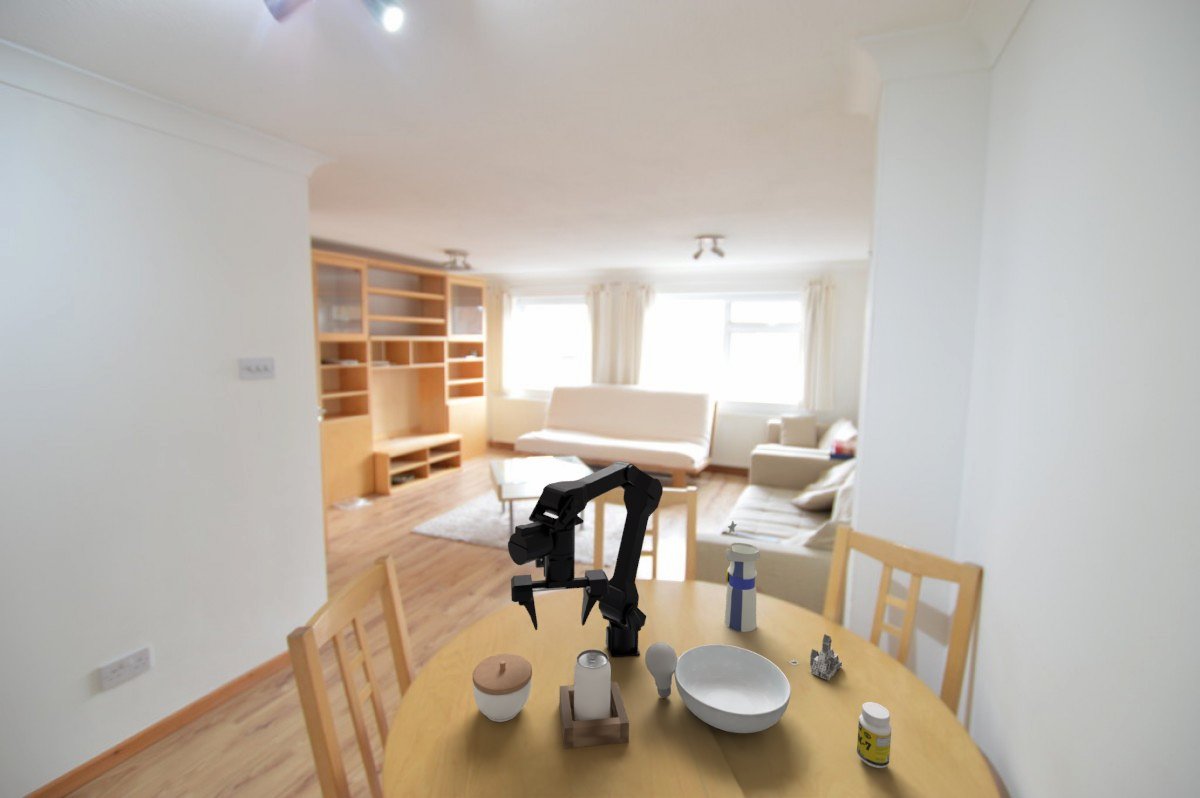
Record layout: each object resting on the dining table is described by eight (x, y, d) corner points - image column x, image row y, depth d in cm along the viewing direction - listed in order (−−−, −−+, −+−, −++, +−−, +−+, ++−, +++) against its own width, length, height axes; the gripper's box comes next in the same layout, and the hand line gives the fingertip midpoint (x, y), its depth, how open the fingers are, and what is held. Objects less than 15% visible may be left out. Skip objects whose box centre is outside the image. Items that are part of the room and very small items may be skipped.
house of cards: (806, 647, 116) (807, 615, 116) (845, 663, 110) (847, 630, 109) (788, 662, 110) (789, 629, 109) (828, 681, 104) (830, 646, 103)
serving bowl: (789, 768, 81) (791, 727, 81) (662, 732, 89) (663, 695, 88) (788, 689, 101) (790, 656, 100) (684, 665, 108) (685, 634, 107)
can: (610, 711, 94) (611, 648, 93) (609, 736, 87) (610, 670, 86) (576, 709, 94) (576, 647, 93) (571, 734, 87) (572, 668, 87)
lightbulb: (683, 686, 99) (678, 636, 97) (677, 710, 94) (672, 658, 92) (653, 682, 102) (647, 633, 100) (645, 705, 96) (639, 654, 94)
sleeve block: (616, 698, 97) (617, 681, 97) (628, 742, 86) (629, 722, 86) (559, 703, 95) (559, 686, 95) (564, 748, 84) (564, 728, 84)
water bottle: (716, 625, 124) (720, 526, 122) (729, 611, 131) (733, 517, 129) (750, 636, 119) (754, 533, 117) (761, 621, 126) (765, 524, 124)
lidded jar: (532, 728, 89) (533, 677, 88) (470, 734, 87) (469, 683, 86) (531, 688, 99) (531, 643, 99) (475, 693, 98) (474, 647, 97)
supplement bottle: (850, 747, 86) (853, 700, 85) (877, 745, 86) (880, 699, 86) (867, 770, 81) (871, 720, 80) (895, 768, 82) (899, 719, 81)
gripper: (599, 532, 108) (598, 602, 109) (510, 537, 104) (510, 610, 105) (610, 552, 97) (609, 630, 98) (511, 559, 93) (511, 640, 94)
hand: (559, 626), depth 99 cm, fingers open, 9 cm apart
